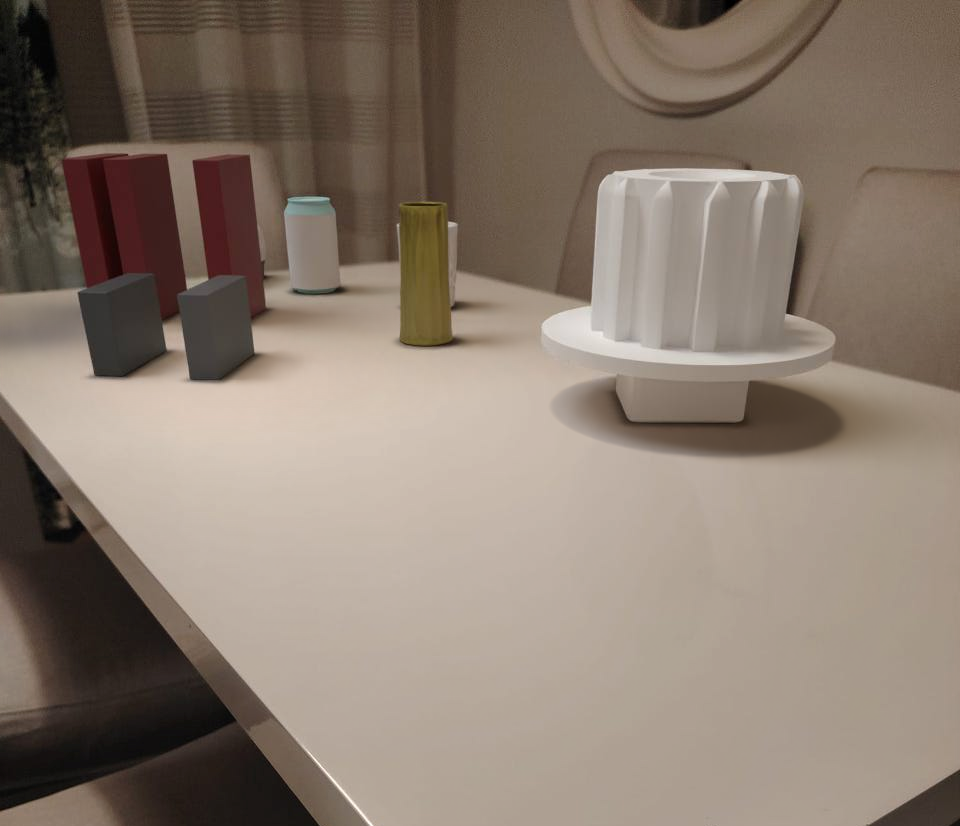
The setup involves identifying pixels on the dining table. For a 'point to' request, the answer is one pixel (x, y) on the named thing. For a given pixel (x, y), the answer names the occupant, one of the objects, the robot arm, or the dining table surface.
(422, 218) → the vase
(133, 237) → the burgundy books
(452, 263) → the white cup
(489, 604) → the dining table surface
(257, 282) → the burgundy book
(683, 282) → the flanged gear
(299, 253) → the can
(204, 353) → the grey bookends
